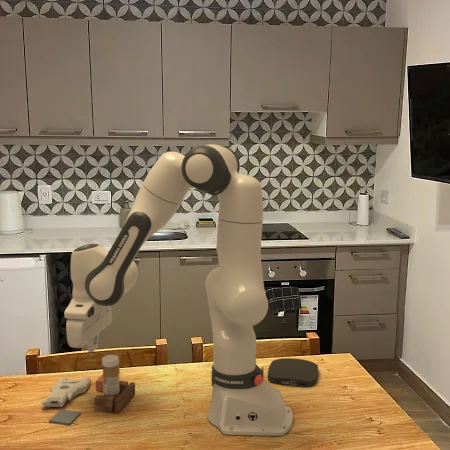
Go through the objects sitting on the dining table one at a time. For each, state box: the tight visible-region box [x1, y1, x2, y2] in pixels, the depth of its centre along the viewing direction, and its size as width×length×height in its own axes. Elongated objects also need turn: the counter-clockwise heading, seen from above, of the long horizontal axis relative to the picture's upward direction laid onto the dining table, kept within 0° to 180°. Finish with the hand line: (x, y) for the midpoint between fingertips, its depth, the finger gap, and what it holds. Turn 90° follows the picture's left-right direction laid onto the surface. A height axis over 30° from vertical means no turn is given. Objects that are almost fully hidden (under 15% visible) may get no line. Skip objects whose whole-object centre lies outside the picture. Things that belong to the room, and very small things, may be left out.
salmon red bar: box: [95, 364, 121, 392], centre depth 173 cm, size 2×12×3 cm, turn 166°
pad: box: [48, 408, 82, 426], centre depth 152 cm, size 6×6×1 cm
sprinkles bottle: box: [101, 354, 120, 399], centre depth 159 cm, size 5×5×13 cm
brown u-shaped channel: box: [93, 380, 136, 416], centre depth 160 cm, size 7×11×4 cm, turn 166°
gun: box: [41, 375, 92, 408], centre depth 164 cm, size 18×3×10 cm
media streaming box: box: [267, 357, 319, 388], centre depth 177 cm, size 15×15×3 cm
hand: (93, 350), depth 161 cm, fingers closed
